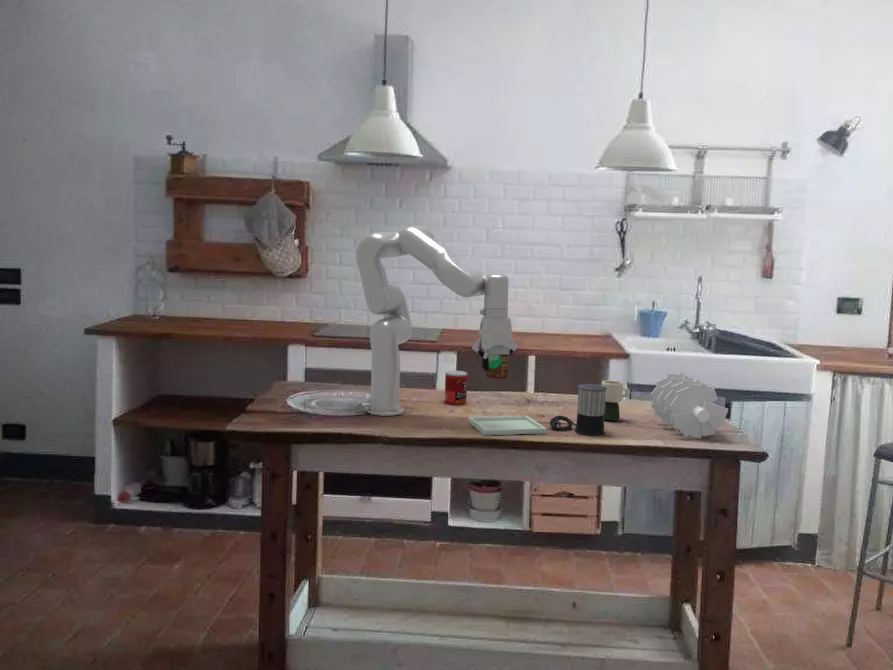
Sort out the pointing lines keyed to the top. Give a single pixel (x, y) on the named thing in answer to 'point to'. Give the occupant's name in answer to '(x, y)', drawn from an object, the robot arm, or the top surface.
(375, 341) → the robot arm
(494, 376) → the food container
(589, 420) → the milk frother
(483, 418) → the tray
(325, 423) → the top surface
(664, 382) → the spiral staircase
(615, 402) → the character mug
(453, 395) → the canned food
